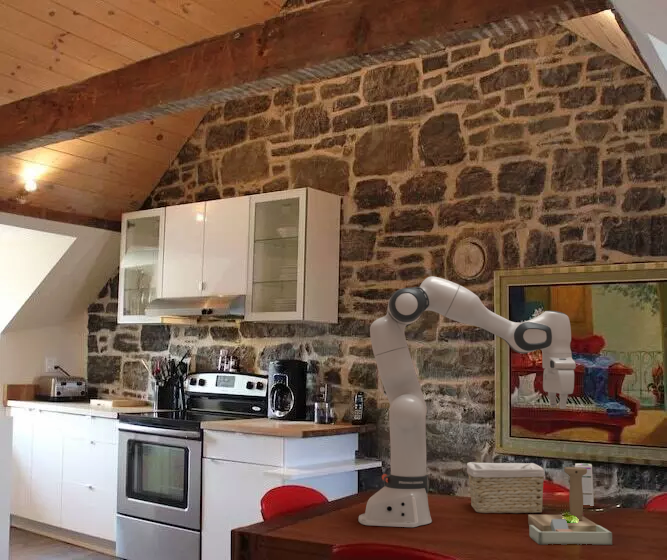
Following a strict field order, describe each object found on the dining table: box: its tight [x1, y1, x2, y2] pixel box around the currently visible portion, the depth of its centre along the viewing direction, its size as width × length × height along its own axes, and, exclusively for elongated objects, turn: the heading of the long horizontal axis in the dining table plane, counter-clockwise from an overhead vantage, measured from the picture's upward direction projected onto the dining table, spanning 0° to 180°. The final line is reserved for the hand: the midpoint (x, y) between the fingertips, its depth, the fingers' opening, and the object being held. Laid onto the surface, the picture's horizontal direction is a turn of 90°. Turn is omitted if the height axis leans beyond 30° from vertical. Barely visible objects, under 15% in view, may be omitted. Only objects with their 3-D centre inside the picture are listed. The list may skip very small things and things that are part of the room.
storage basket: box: [466, 461, 546, 514], centre depth 266 cm, size 24×16×15 cm
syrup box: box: [574, 462, 595, 507], centre depth 271 cm, size 6×6×14 cm
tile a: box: [556, 529, 574, 532], centre depth 219 cm, size 4×4×2 cm
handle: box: [563, 466, 587, 521], centre depth 234 cm, size 5×6×15 cm
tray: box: [528, 524, 613, 546], centre depth 220 cm, size 20×10×3 cm, turn 91°
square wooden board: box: [527, 514, 598, 532], centre depth 234 cm, size 16×16×3 cm
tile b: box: [550, 519, 569, 532], centre depth 224 cm, size 4×4×2 cm
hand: (557, 407), depth 246 cm, fingers open, 8 cm apart
